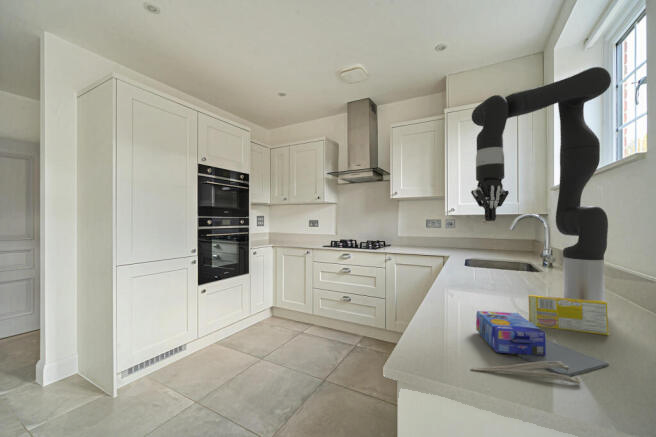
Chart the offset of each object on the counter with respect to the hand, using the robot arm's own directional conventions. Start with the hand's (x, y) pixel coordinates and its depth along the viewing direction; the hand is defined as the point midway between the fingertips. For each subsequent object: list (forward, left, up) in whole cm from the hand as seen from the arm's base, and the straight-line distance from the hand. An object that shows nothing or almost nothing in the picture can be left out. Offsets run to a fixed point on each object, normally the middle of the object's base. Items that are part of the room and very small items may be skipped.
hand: (490, 220), depth 82 cm
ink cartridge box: (+10, +10, -26) cm, 30 cm away
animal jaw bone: (+23, +26, -29) cm, 45 cm away
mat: (+10, +21, -29) cm, 37 cm away
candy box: (-10, +14, -29) cm, 34 cm away
